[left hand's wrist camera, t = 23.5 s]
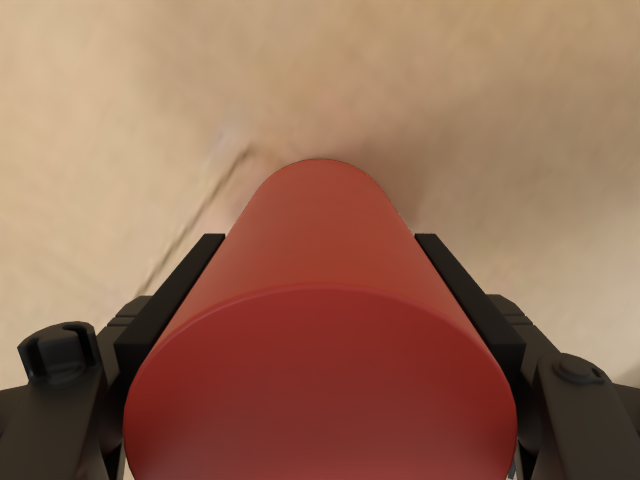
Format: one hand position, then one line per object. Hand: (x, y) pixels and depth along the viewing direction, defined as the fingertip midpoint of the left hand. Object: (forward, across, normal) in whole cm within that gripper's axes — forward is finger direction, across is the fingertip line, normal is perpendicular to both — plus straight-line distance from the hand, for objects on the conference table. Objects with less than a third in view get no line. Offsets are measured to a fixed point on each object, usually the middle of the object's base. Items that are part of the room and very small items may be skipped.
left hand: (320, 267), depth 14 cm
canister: (+3, 0, 0) cm, 3 cm away
